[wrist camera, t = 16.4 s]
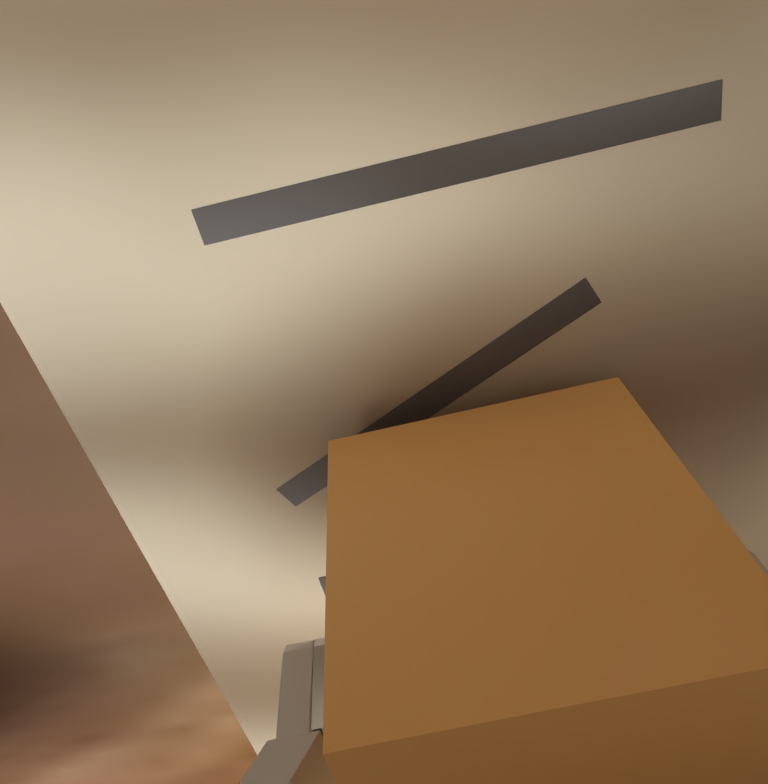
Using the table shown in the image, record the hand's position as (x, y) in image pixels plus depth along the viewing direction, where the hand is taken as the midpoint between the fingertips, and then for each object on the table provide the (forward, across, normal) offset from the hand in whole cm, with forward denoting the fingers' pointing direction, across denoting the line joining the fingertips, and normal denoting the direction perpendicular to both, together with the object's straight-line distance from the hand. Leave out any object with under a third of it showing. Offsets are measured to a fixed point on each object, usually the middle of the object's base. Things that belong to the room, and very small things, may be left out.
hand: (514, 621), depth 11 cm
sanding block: (+1, 0, 0) cm, 1 cm away
